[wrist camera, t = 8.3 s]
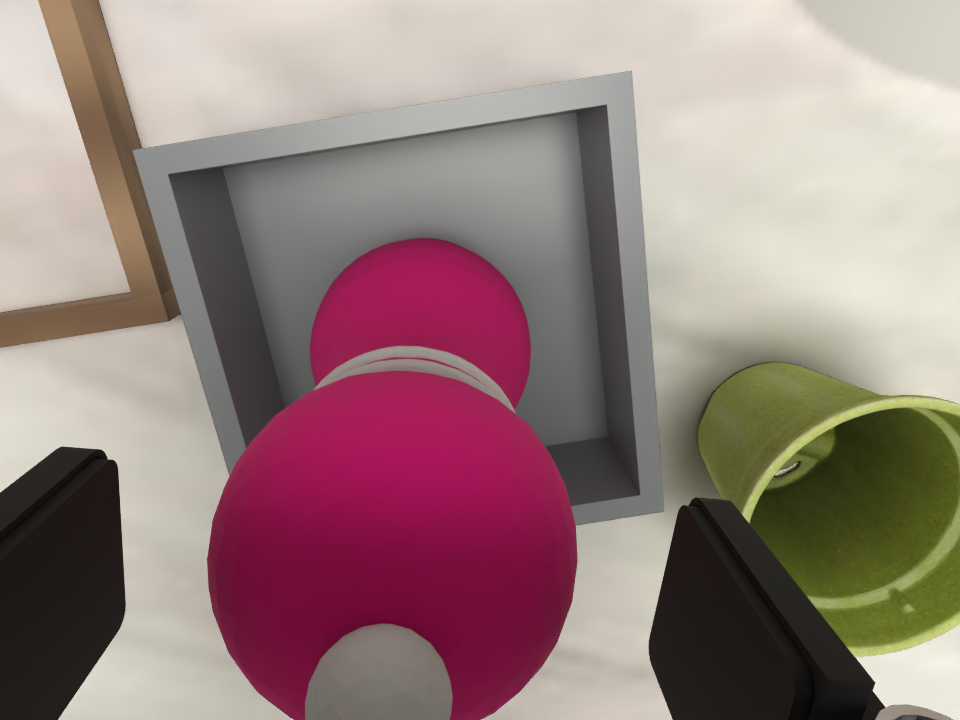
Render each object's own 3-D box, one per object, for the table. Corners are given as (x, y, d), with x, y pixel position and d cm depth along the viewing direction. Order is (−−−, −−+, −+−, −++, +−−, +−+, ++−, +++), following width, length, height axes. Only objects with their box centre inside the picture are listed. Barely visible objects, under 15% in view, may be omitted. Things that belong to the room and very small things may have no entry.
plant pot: (711, 554, 31) (805, 701, 23) (620, 394, 29) (689, 495, 20) (898, 458, 30) (1067, 575, 22) (821, 281, 27) (980, 340, 19)
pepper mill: (521, 395, 28) (688, 955, 9) (346, 409, 27) (116, 1012, 8) (513, 217, 25) (711, 437, 6) (321, 231, 25) (-69, 500, 6)
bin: (623, 442, 29) (664, 511, 24) (294, 493, 29) (258, 574, 24) (591, 87, 25) (631, 70, 19) (202, 149, 25) (132, 150, 19)
